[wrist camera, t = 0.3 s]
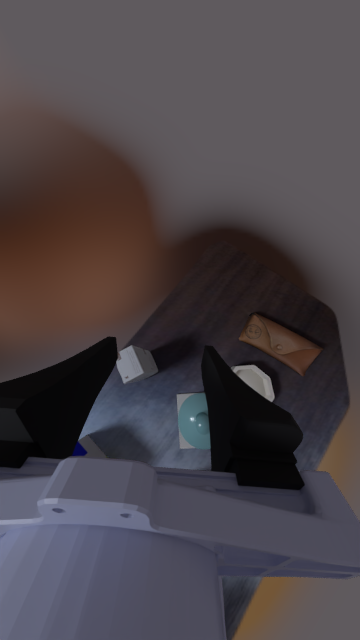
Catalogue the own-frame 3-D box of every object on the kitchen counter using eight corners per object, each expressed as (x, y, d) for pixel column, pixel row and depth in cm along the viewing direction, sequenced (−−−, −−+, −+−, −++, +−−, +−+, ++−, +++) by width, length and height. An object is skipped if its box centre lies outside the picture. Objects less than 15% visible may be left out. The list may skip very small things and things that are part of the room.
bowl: (271, 409, 36) (278, 413, 33) (227, 412, 36) (230, 415, 33) (261, 364, 39) (267, 364, 36) (220, 367, 39) (223, 367, 36)
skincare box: (159, 371, 40) (146, 373, 28) (143, 380, 39) (124, 385, 28) (149, 350, 42) (133, 343, 30) (134, 358, 41) (112, 354, 30)
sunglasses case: (236, 340, 41) (249, 323, 36) (241, 324, 45) (254, 308, 41) (305, 379, 37) (331, 366, 32) (304, 357, 42) (326, 343, 37)
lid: (230, 446, 34) (235, 456, 30) (180, 448, 34) (178, 459, 30) (222, 391, 37) (226, 394, 33) (176, 394, 38) (175, 397, 34)
